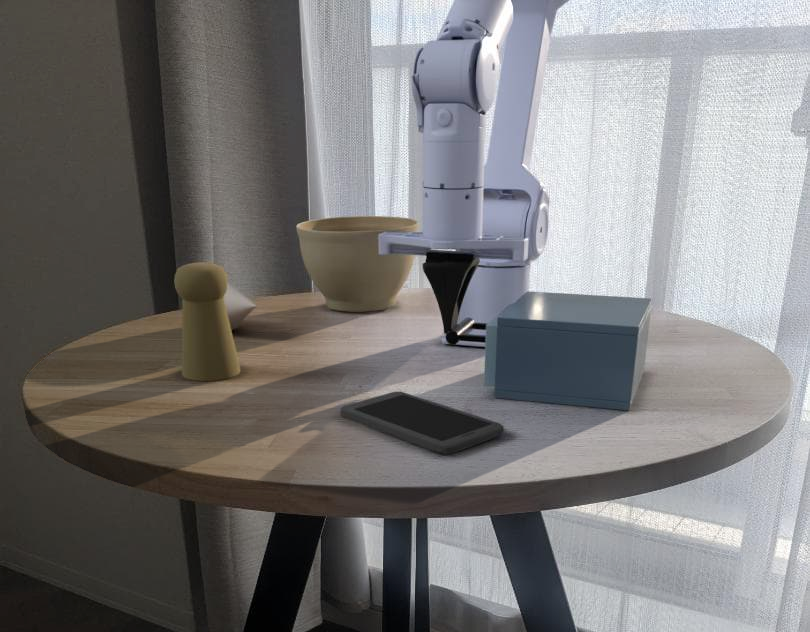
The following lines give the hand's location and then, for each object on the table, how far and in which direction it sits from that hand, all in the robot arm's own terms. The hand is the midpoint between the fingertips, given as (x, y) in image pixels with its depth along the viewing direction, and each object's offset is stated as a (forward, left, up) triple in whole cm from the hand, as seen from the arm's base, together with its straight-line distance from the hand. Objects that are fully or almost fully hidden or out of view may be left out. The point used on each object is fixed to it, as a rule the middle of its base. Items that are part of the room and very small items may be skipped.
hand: (450, 331), depth 88 cm
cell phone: (+2, -16, -4) cm, 17 cm away
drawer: (+9, 0, -3) cm, 9 cm away
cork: (-24, -7, -5) cm, 25 cm away
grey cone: (-31, +9, -5) cm, 33 cm away
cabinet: (+13, 0, -4) cm, 13 cm away
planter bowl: (-21, +28, -5) cm, 35 cm away
